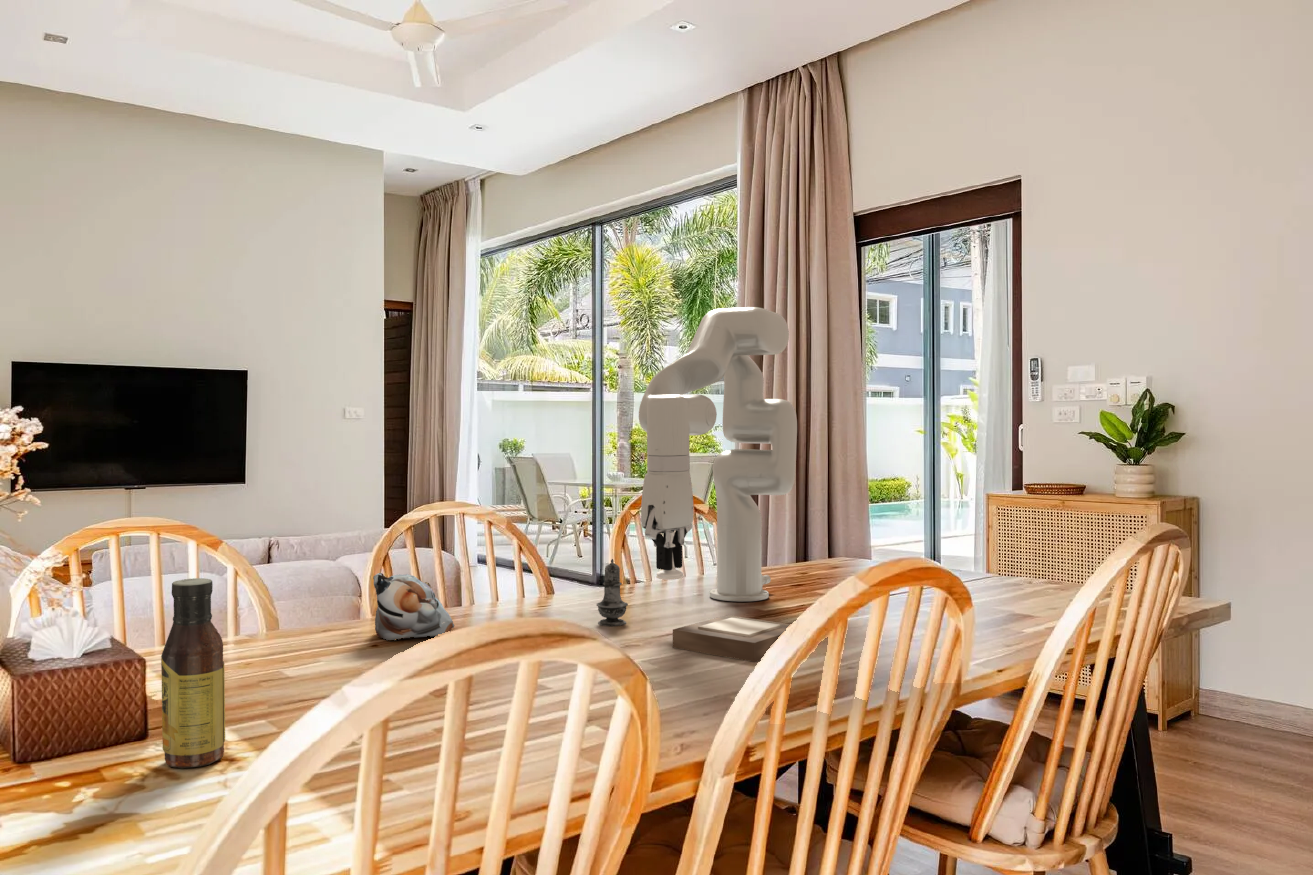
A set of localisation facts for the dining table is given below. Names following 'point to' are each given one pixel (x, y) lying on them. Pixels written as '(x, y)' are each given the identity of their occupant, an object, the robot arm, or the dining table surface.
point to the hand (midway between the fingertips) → (669, 567)
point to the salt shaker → (612, 598)
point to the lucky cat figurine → (408, 608)
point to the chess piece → (672, 573)
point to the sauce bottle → (193, 680)
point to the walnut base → (729, 637)
